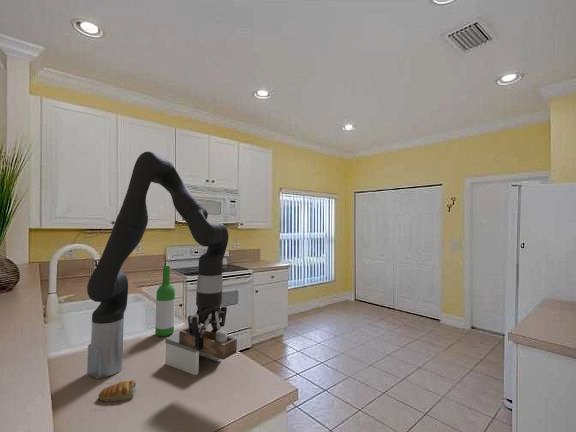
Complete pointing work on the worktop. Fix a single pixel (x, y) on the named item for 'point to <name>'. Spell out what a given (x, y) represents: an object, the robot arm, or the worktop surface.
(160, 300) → the wine bottle
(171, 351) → the counter bay
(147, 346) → the worktop surface
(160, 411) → the worktop surface
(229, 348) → the caddy
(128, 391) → the pastry
